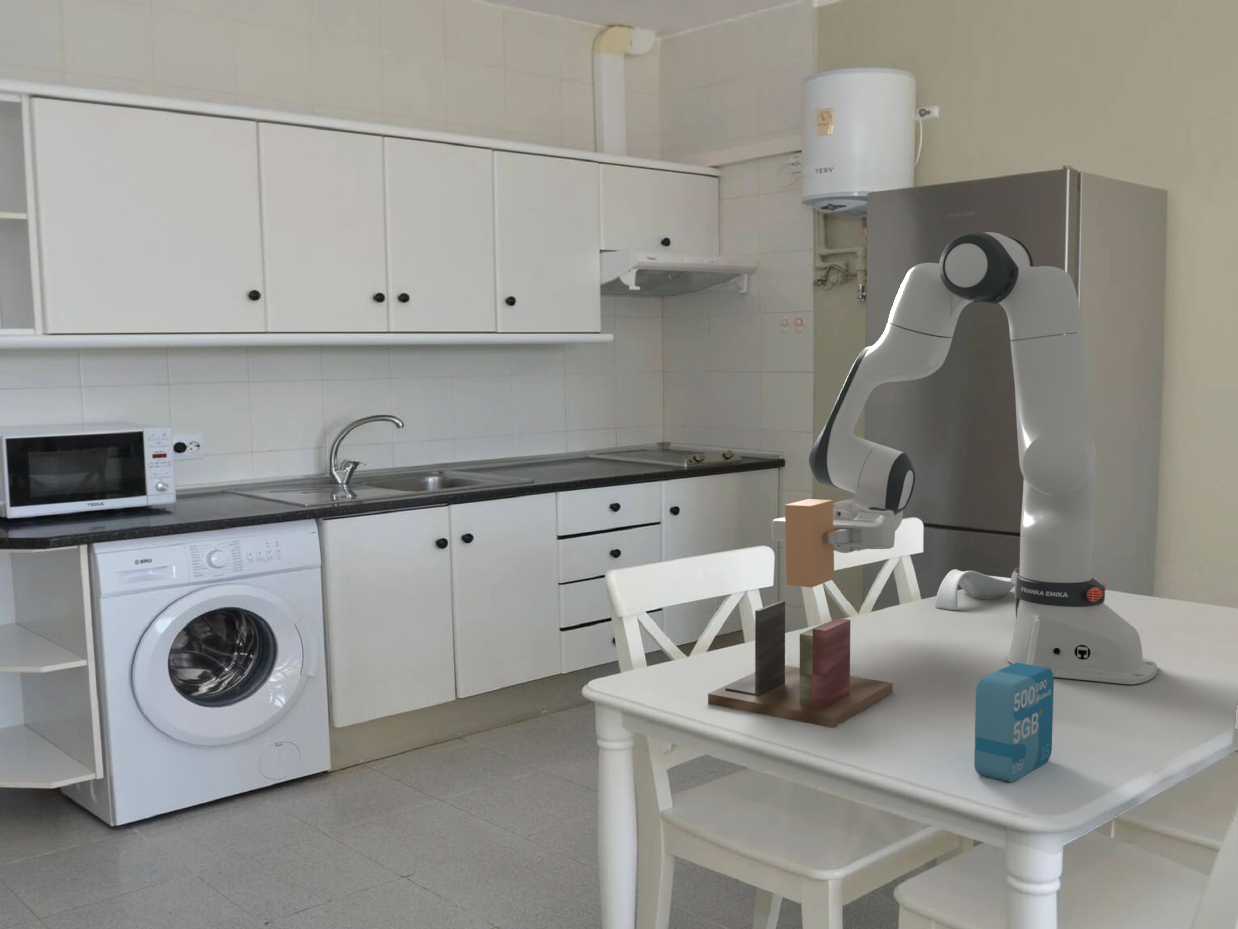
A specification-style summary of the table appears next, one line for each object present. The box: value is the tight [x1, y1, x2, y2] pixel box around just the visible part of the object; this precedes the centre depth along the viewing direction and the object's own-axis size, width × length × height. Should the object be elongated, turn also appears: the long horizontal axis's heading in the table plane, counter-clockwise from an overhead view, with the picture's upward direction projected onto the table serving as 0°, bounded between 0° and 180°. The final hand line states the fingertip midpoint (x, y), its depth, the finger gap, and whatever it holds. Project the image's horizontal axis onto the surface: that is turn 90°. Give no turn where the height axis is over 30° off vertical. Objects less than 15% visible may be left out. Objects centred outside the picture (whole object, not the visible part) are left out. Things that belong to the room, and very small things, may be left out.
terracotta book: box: [784, 498, 835, 588], centre depth 195 cm, size 4×8×13 cm, turn 144°
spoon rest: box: [934, 568, 1014, 611], centre depth 244 cm, size 24×12×7 cm, turn 139°
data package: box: [973, 663, 1055, 783], centre depth 147 cm, size 12×4×12 cm, turn 137°
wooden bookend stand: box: [707, 600, 893, 729], centre depth 177 cm, size 20×20×14 cm
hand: (810, 537), depth 195 cm, fingers closed on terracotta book, 4 cm apart
